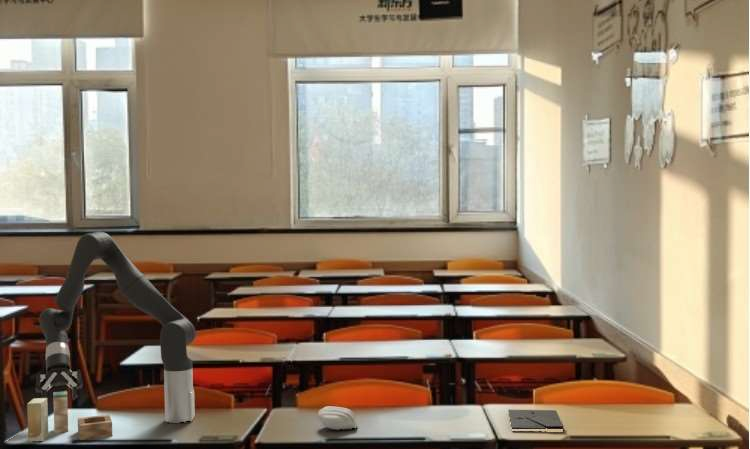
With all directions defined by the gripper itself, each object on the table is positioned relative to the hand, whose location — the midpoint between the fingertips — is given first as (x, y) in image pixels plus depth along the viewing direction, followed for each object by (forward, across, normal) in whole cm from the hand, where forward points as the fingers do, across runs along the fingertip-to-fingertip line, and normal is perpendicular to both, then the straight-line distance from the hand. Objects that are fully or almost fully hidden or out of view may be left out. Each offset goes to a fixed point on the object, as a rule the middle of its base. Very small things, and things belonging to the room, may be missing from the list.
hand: (60, 400), depth 258 cm
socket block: (+15, +10, -2) cm, 18 cm away
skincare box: (+14, -7, -1) cm, 15 cm away
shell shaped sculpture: (+35, +80, -22) cm, 91 cm away
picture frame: (+51, +140, -38) cm, 154 cm away
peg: (+9, 0, +4) cm, 10 cm away
